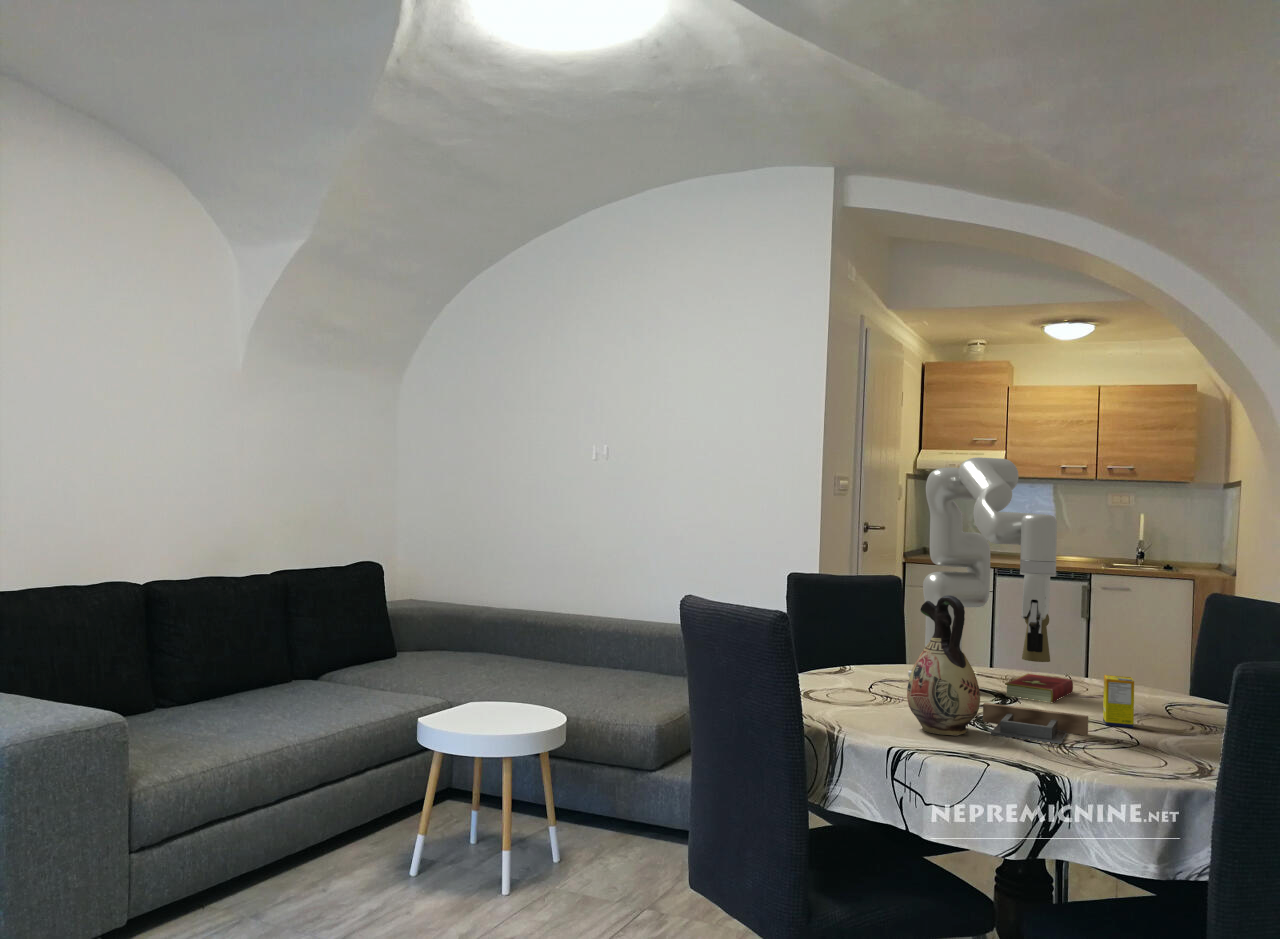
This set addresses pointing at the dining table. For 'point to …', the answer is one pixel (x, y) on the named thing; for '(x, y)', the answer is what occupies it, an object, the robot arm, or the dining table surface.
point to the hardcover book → (1039, 687)
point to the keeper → (1029, 730)
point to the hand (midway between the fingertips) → (1036, 649)
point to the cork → (1045, 654)
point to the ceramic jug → (944, 675)
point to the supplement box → (1118, 701)
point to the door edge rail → (1036, 717)
